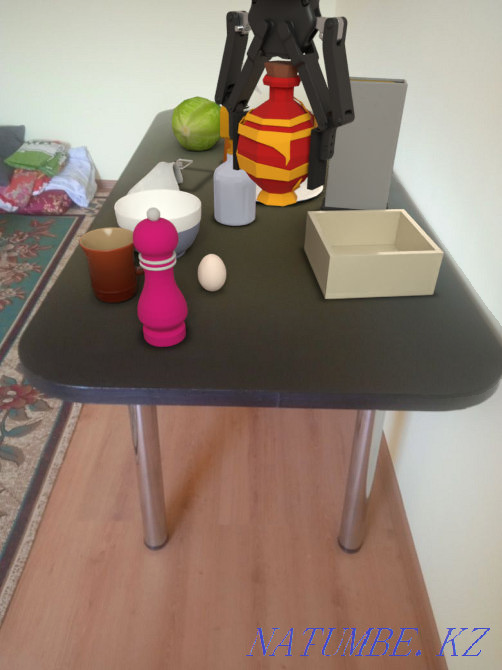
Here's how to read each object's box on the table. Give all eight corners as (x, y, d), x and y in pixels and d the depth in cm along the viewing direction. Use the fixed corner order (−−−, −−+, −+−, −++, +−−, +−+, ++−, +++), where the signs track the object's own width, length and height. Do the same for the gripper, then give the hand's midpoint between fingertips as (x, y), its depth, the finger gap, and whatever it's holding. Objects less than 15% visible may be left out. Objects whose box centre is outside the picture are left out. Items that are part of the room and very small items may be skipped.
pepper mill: (136, 326, 79) (119, 201, 68) (182, 318, 81) (173, 195, 70) (145, 353, 74) (129, 222, 62) (194, 343, 76) (187, 214, 64)
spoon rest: (173, 222, 112) (171, 190, 108) (121, 219, 113) (116, 187, 109) (196, 184, 131) (194, 155, 127) (151, 181, 132) (148, 153, 128)
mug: (92, 312, 82) (81, 253, 77) (86, 286, 89) (76, 230, 83) (166, 299, 86) (161, 243, 80) (155, 275, 93) (150, 222, 87)
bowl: (120, 273, 93) (113, 223, 88) (120, 236, 106) (114, 191, 100) (208, 266, 96) (206, 217, 90) (198, 231, 108) (196, 187, 103)
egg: (232, 290, 89) (232, 255, 85) (210, 300, 86) (209, 264, 82) (214, 280, 92) (213, 245, 88) (192, 289, 89) (190, 254, 85)
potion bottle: (332, 193, 66) (345, 61, 57) (294, 220, 58) (303, 73, 50) (261, 179, 70) (264, 54, 61) (217, 202, 63) (214, 64, 54)
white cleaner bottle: (260, 214, 117) (264, 97, 103) (246, 229, 110) (248, 105, 96) (224, 208, 119) (222, 93, 105) (208, 223, 112) (204, 101, 98)
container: (323, 217, 122) (311, 79, 106) (404, 211, 118) (405, 65, 101) (321, 230, 116) (308, 85, 100) (406, 224, 112) (408, 71, 95)
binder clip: (183, 183, 133) (182, 161, 130) (169, 181, 134) (167, 160, 131) (193, 175, 138) (192, 154, 135) (179, 173, 139) (178, 153, 136)
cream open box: (433, 294, 89) (443, 252, 84) (325, 299, 87) (330, 256, 82) (396, 246, 104) (403, 209, 100) (304, 249, 102) (307, 211, 98)
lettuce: (215, 157, 148) (165, 159, 153) (238, 138, 166) (193, 140, 171) (207, 103, 140) (155, 107, 145) (232, 88, 158) (185, 92, 163)
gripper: (175, -51, 53) (187, 165, 66) (375, -55, 42) (343, 208, 54) (223, -48, 58) (226, 152, 71) (414, -51, 47) (376, 189, 59)
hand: (277, 176), depth 63 cm, fingers closed on potion bottle, 10 cm apart
